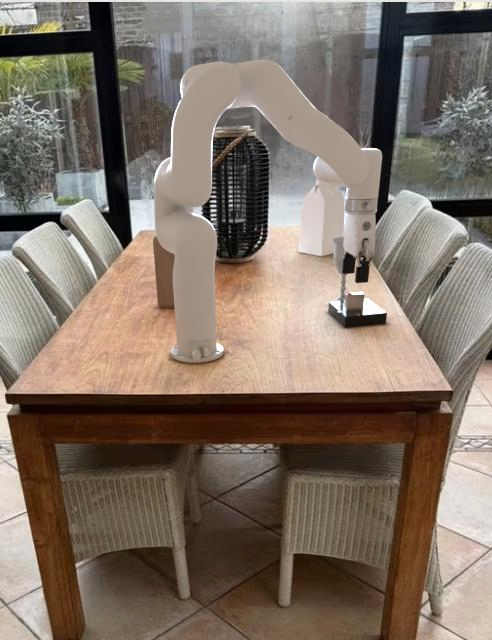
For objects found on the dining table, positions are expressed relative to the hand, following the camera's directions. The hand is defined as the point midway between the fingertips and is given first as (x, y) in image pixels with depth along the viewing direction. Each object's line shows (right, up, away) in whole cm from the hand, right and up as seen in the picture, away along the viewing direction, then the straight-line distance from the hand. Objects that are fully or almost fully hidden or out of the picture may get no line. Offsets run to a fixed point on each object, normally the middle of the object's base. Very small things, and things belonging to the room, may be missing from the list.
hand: (354, 277), depth 166 cm
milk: (+7, +33, +80) cm, 87 cm away
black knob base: (+3, -8, +9) cm, 12 cm away
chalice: (+1, -2, +19) cm, 19 cm away
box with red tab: (+1, -7, +4) cm, 9 cm away
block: (-46, +1, +29) cm, 54 cm away
